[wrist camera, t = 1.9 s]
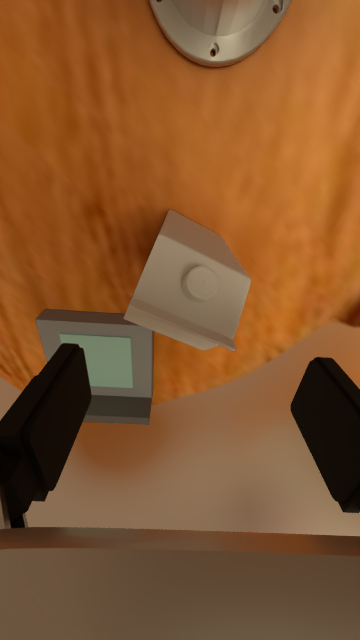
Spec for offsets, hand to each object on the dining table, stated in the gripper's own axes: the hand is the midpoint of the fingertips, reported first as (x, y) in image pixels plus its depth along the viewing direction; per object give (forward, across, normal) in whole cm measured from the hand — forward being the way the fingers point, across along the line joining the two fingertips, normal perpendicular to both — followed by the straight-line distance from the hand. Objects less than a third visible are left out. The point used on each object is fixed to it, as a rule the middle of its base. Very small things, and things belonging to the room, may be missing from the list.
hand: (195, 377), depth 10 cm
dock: (+24, +12, +18) cm, 32 cm away
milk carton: (+24, 0, 0) cm, 24 cm away
